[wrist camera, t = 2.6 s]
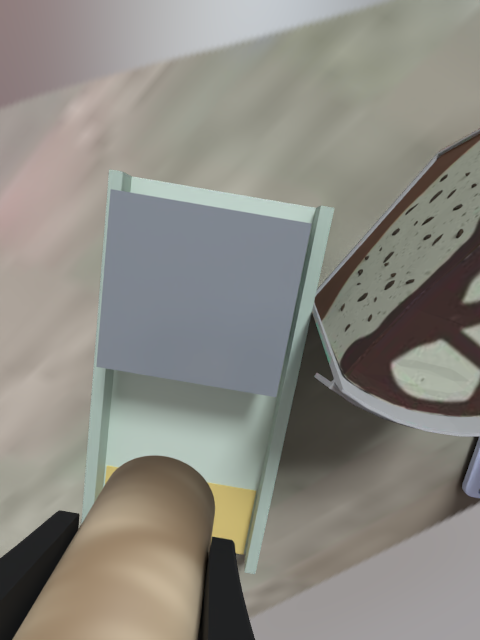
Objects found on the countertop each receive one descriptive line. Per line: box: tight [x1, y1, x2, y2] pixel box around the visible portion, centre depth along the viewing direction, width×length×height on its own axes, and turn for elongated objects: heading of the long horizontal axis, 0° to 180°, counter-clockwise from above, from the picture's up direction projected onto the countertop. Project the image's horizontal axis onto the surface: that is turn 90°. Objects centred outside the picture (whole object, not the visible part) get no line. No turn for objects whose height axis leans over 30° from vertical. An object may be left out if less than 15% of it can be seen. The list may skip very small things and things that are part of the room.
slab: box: [96, 189, 312, 397], centre depth 16 cm, size 8×7×4 cm
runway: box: [82, 169, 334, 574], centre depth 19 cm, size 10×20×2 cm, turn 171°
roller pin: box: [12, 455, 215, 640], centre depth 10 cm, size 4×4×6 cm
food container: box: [312, 129, 480, 436], centre depth 13 cm, size 12×6×10 cm, turn 140°
